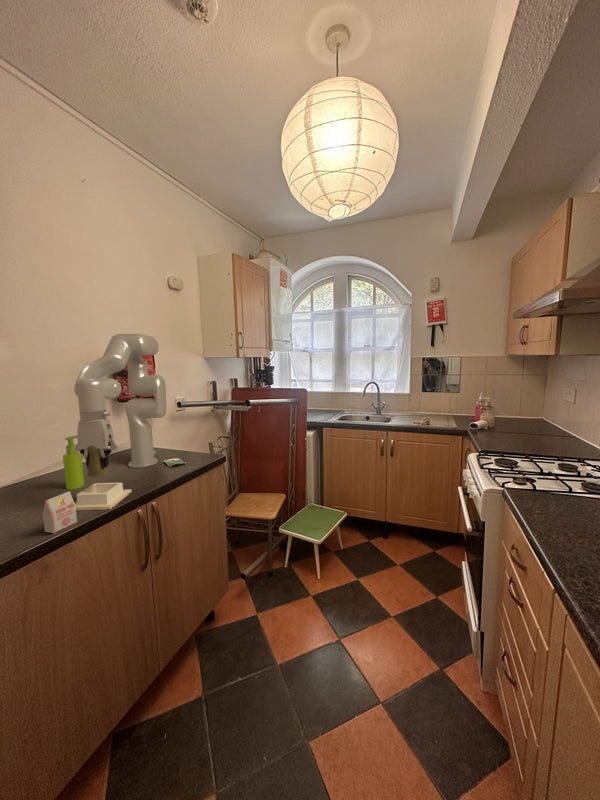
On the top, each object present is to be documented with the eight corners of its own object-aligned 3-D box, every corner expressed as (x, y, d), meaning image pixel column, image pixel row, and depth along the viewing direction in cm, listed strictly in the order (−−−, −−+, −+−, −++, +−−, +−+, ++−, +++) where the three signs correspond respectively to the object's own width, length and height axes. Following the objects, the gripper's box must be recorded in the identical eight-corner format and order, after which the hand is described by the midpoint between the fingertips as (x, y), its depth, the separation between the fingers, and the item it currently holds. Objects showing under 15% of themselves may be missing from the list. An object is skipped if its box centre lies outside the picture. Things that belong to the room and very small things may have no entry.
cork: (98, 477, 106) (95, 445, 104) (83, 476, 107) (80, 444, 105) (112, 471, 111) (109, 441, 110) (98, 470, 113) (95, 440, 111)
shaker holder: (93, 492, 117) (92, 481, 117) (131, 491, 118) (130, 480, 117) (67, 510, 104) (66, 497, 103) (110, 509, 104) (108, 496, 103)
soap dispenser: (90, 484, 126) (85, 435, 123) (72, 490, 120) (66, 439, 117) (81, 481, 128) (76, 434, 126) (63, 488, 122) (57, 438, 120)
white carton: (45, 532, 90) (40, 499, 89) (68, 521, 97) (65, 490, 95) (53, 534, 89) (49, 501, 88) (77, 523, 95) (73, 491, 94)
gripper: (123, 413, 111) (127, 464, 113) (76, 414, 110) (80, 465, 112) (111, 417, 103) (116, 471, 105) (60, 418, 103) (65, 472, 105)
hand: (97, 467), depth 109 cm, fingers closed on cork, 3 cm apart
